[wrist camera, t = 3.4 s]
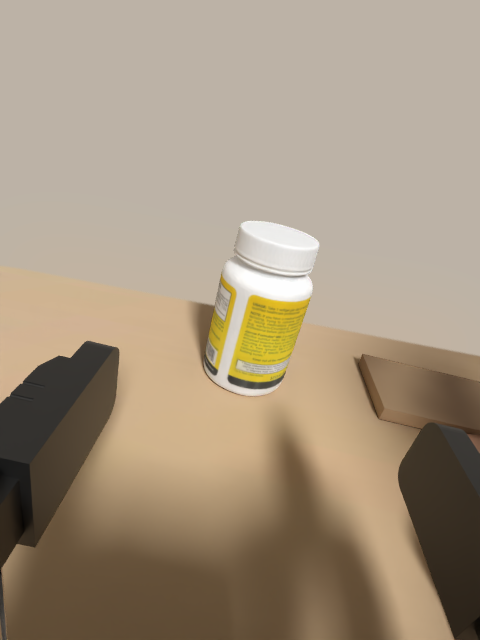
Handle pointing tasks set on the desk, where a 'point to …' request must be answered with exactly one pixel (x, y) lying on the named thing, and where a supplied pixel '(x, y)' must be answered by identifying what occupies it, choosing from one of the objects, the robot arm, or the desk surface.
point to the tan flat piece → (422, 396)
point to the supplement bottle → (260, 307)
